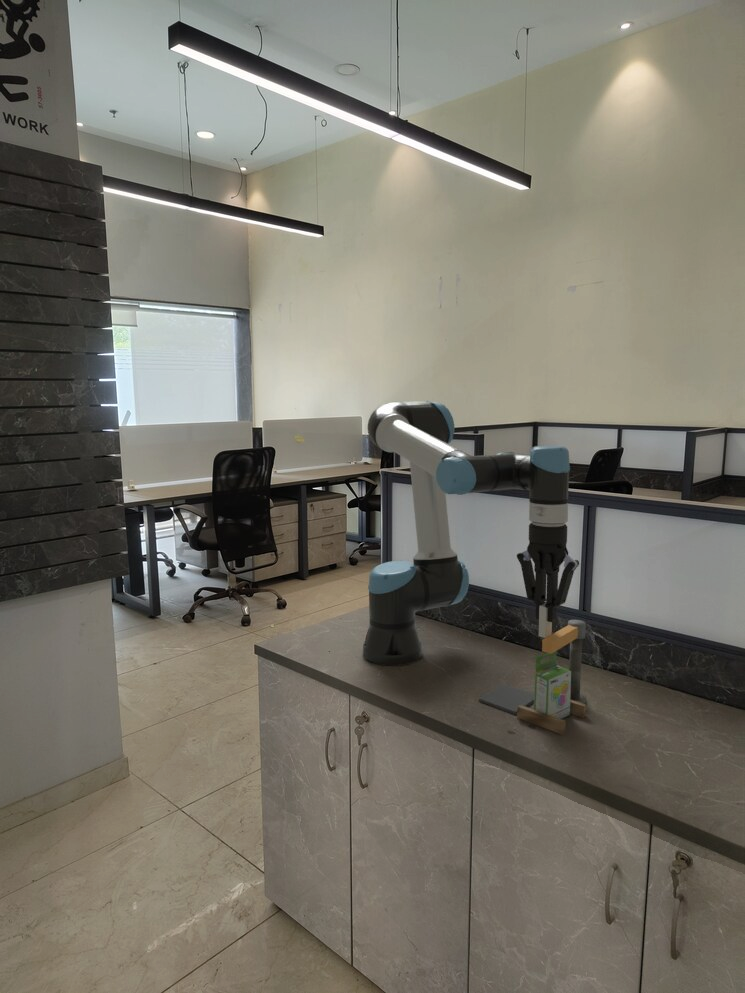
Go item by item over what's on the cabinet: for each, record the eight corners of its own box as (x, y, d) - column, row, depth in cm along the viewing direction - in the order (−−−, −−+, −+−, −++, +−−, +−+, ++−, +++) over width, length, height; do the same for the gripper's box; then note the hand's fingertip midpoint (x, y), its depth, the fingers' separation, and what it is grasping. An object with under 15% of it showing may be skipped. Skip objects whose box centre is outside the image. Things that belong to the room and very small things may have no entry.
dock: (517, 718, 131) (519, 652, 129) (557, 689, 144) (559, 629, 141) (562, 734, 124) (565, 666, 122) (601, 703, 137) (604, 640, 135)
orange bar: (572, 631, 139) (572, 618, 138) (588, 635, 136) (588, 622, 136) (538, 651, 128) (538, 637, 128) (555, 656, 126) (555, 641, 125)
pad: (478, 701, 138) (478, 698, 138) (503, 685, 146) (503, 683, 146) (515, 714, 132) (515, 711, 132) (539, 698, 140) (539, 695, 139)
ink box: (548, 726, 128) (550, 662, 126) (532, 718, 131) (534, 656, 129) (570, 716, 132) (572, 654, 130) (554, 708, 135) (556, 647, 133)
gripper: (509, 522, 131) (508, 632, 134) (569, 529, 122) (566, 648, 125) (528, 517, 136) (526, 623, 140) (587, 524, 127) (583, 637, 131)
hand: (545, 635), depth 132 cm, fingers closed
